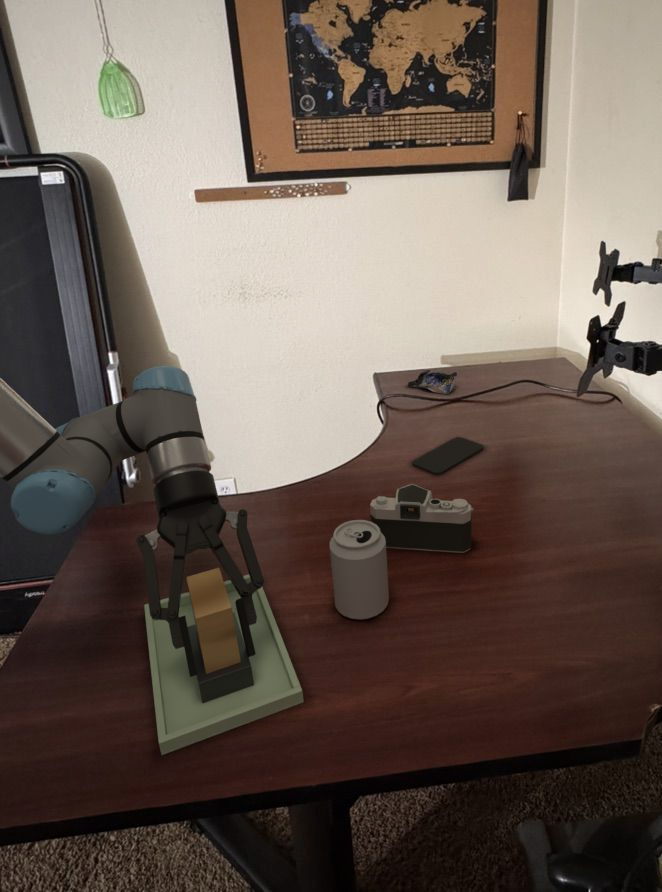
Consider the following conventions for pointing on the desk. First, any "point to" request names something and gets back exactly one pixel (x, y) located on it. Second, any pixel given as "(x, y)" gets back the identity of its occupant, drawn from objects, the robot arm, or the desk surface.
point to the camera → (423, 521)
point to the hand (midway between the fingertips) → (223, 665)
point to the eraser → (216, 638)
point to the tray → (195, 721)
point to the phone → (447, 455)
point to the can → (359, 569)
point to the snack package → (435, 381)
